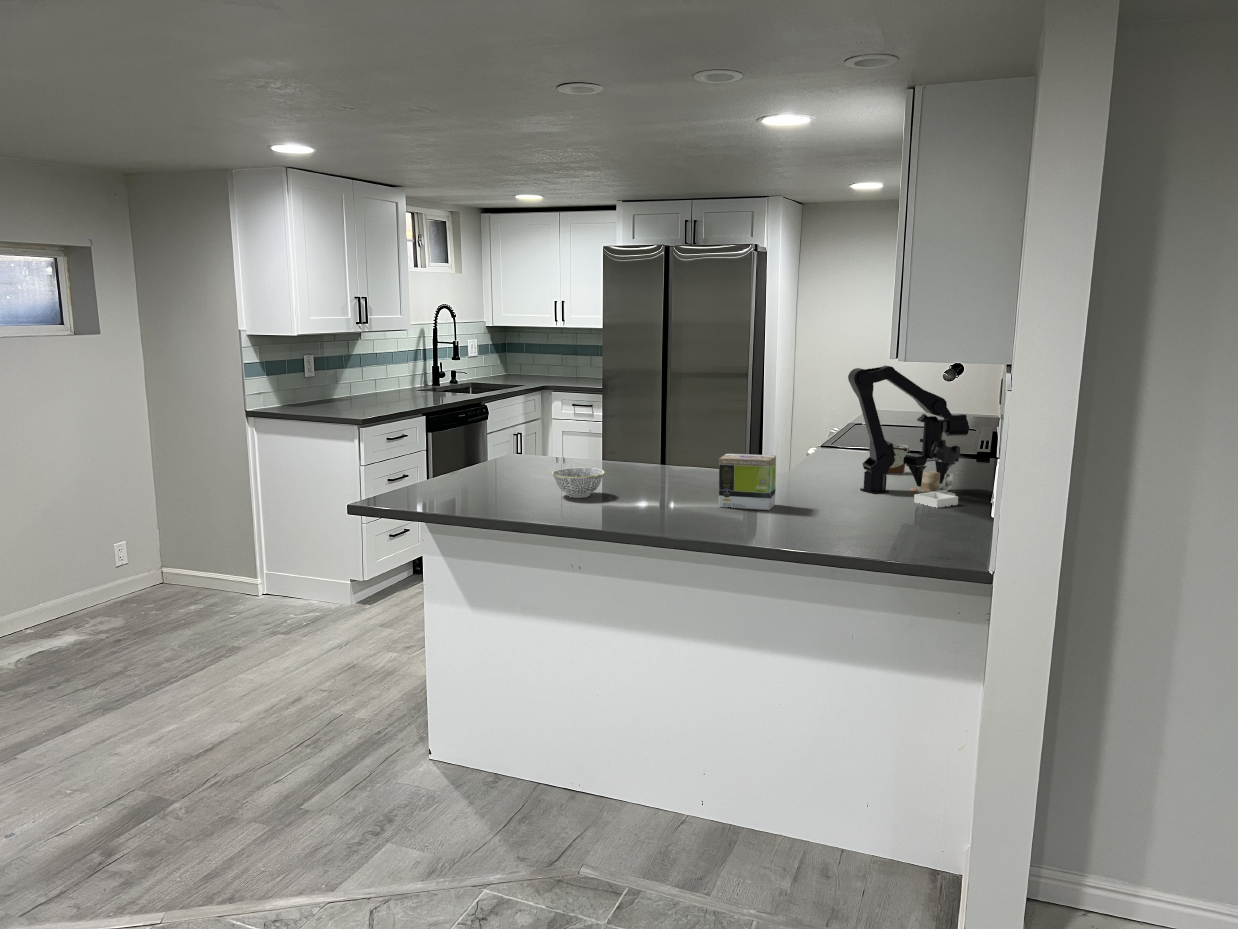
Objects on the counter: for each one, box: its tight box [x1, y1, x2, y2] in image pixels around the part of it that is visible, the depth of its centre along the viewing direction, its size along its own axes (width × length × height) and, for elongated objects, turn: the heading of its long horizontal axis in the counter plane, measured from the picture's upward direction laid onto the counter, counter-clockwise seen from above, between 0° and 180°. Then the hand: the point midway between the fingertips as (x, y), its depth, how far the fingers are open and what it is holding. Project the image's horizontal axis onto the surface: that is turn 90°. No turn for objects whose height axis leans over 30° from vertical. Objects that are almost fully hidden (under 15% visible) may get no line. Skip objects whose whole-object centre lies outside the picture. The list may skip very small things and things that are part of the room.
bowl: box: [551, 467, 605, 499], centre depth 276 cm, size 16×16×8 cm
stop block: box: [919, 470, 940, 493], centre depth 284 cm, size 4×4×6 cm
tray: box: [913, 492, 959, 509], centre depth 266 cm, size 9×9×2 cm
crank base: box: [910, 487, 957, 496], centre depth 279 cm, size 8×16×1 cm, turn 29°
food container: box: [886, 443, 910, 475], centre depth 315 cm, size 12×6×10 cm, turn 84°
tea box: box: [718, 453, 777, 511], centre depth 262 cm, size 15×10×15 cm, turn 70°
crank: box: [937, 473, 954, 494], centre depth 279 cm, size 12×3×4 cm, turn 149°
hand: (929, 485), depth 284 cm, fingers open, 9 cm apart
